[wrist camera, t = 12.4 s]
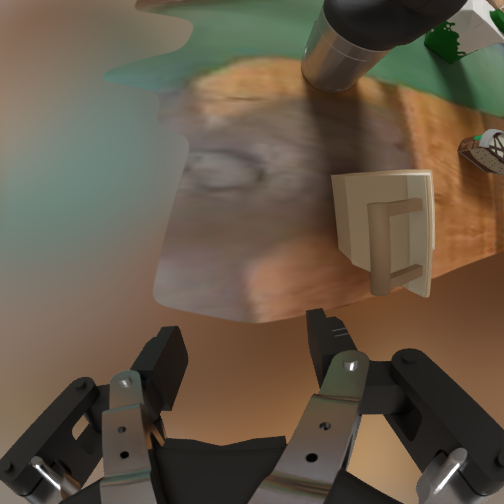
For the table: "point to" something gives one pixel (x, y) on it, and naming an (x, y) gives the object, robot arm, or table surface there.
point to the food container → (485, 151)
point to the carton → (342, 206)
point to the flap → (392, 230)
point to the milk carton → (467, 31)
